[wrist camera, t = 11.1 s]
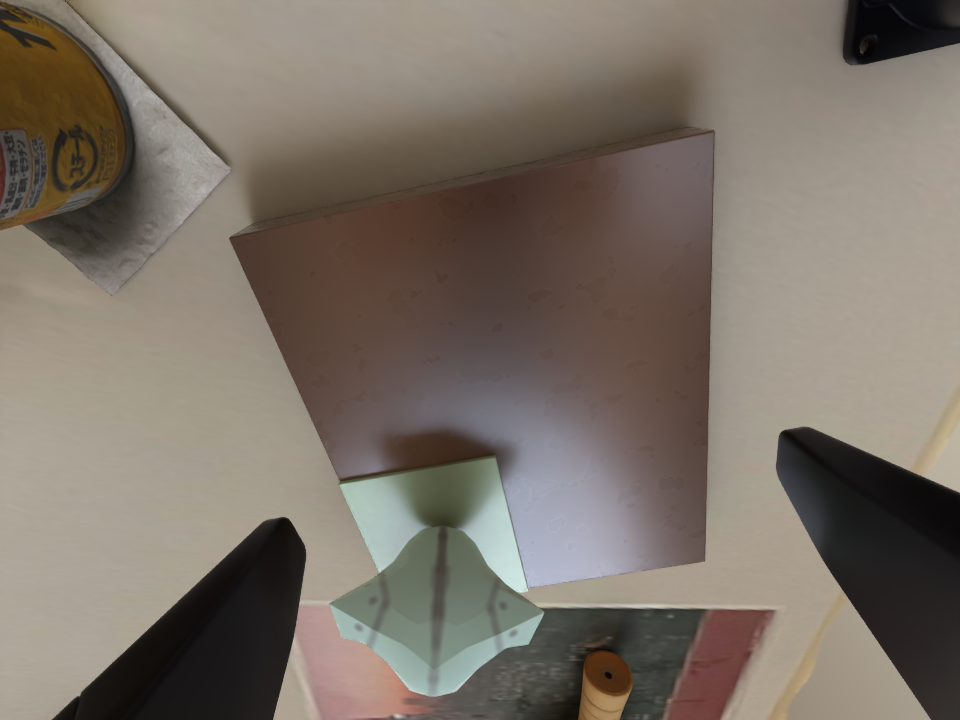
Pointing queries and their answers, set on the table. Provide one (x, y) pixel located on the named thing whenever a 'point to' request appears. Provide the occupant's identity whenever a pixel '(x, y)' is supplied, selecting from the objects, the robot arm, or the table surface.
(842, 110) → the table surface
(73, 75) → the condiment
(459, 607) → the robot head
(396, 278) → the walnut board
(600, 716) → the kendama
